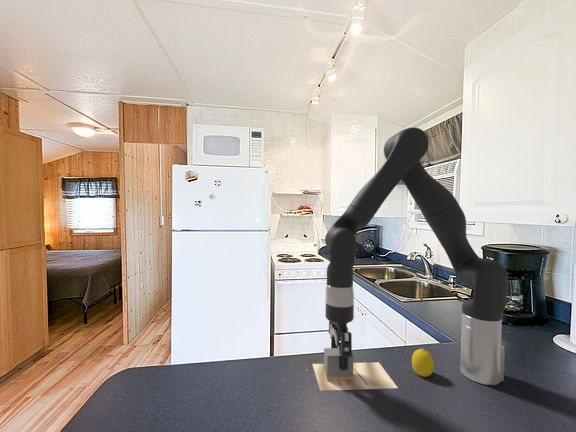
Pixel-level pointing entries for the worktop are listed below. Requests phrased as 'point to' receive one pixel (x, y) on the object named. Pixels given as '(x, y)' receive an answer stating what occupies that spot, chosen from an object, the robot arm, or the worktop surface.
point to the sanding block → (336, 365)
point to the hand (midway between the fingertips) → (339, 360)
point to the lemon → (422, 363)
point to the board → (356, 378)
